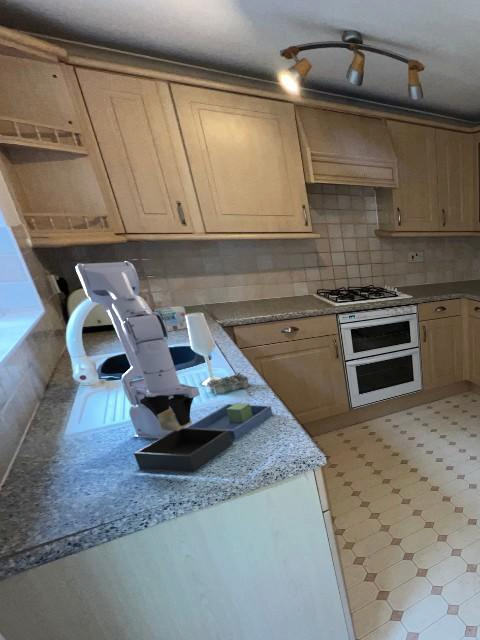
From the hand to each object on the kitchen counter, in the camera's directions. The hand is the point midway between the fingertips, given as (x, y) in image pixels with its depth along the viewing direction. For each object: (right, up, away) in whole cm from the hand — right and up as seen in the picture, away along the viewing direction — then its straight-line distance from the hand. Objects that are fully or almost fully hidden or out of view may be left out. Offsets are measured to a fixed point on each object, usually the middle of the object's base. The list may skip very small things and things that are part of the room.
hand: (176, 423), depth 95 cm
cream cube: (0, -1, 0) cm, 1 cm away
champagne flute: (-26, +10, +47) cm, 54 cm away
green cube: (+2, -1, +20) cm, 20 cm away
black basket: (+2, -8, +2) cm, 9 cm away
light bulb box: (-94, +37, +112) cm, 151 cm away
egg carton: (-16, +7, +41) cm, 45 cm away
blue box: (+2, -2, +17) cm, 17 cm away
